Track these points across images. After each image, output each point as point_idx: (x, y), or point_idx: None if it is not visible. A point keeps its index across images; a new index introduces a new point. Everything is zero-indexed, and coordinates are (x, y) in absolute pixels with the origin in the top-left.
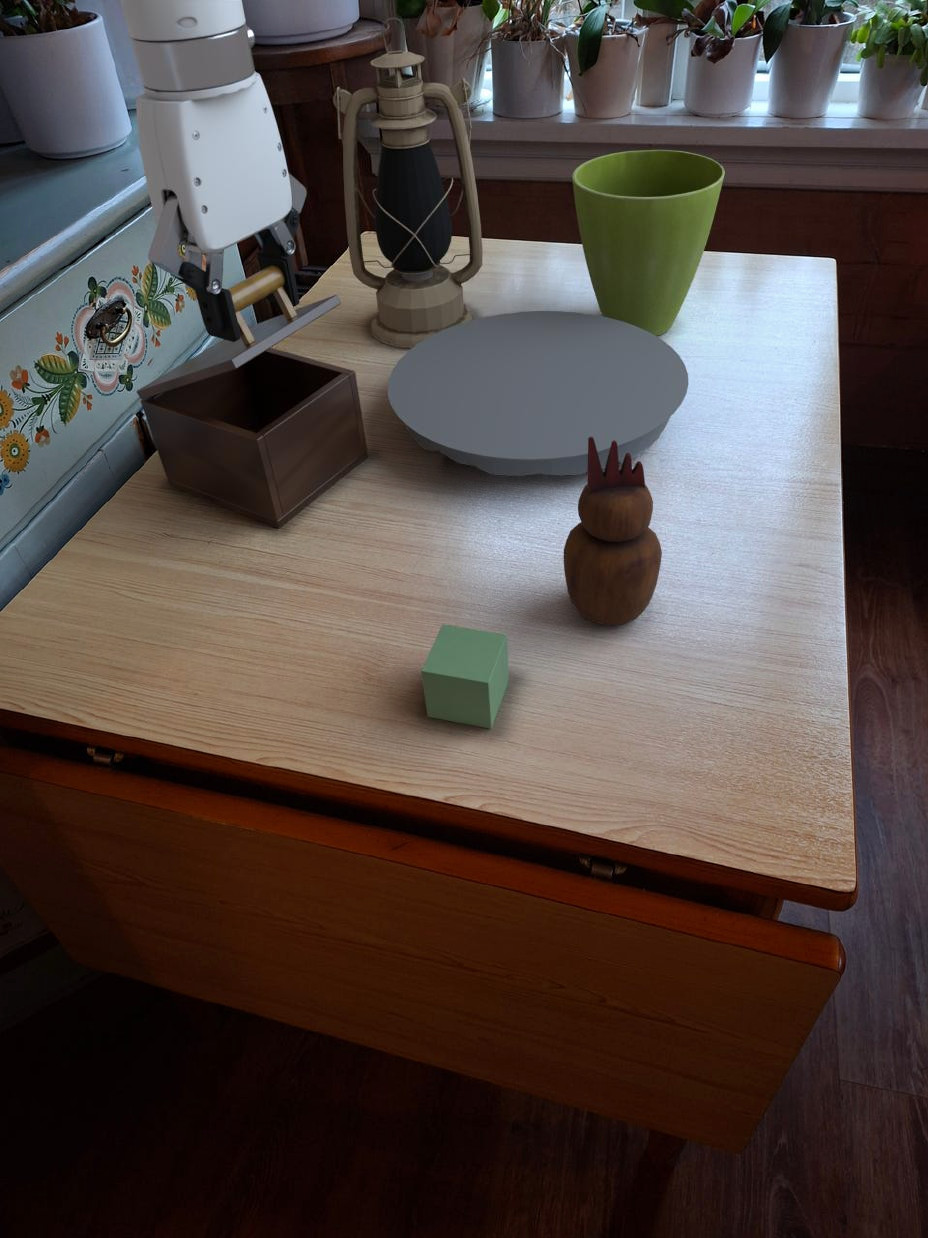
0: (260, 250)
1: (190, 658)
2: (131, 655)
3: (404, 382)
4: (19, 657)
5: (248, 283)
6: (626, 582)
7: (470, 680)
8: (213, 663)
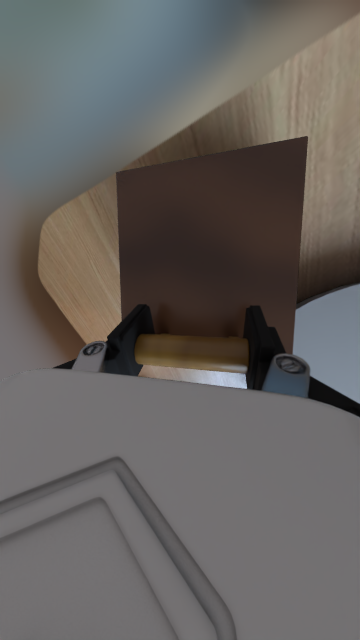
0: (272, 347)
1: (98, 317)
2: (81, 297)
3: (324, 308)
4: (42, 257)
5: (180, 367)
6: None
7: None
8: (103, 326)
